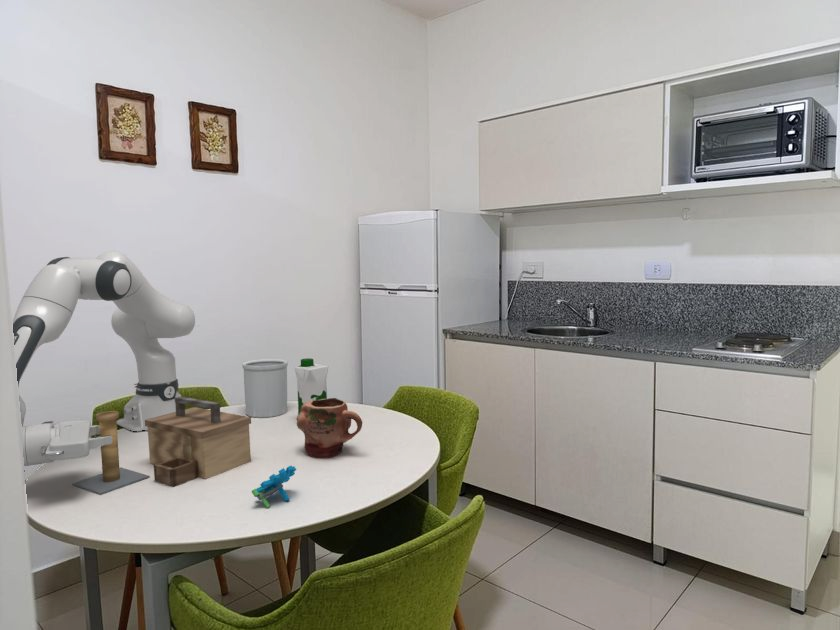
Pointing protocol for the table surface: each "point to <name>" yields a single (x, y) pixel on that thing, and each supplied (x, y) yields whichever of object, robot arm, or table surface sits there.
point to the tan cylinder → (109, 445)
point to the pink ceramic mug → (326, 426)
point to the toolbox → (196, 442)
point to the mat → (102, 487)
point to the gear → (274, 485)
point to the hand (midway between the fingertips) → (112, 433)
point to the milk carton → (310, 382)
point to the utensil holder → (265, 387)
